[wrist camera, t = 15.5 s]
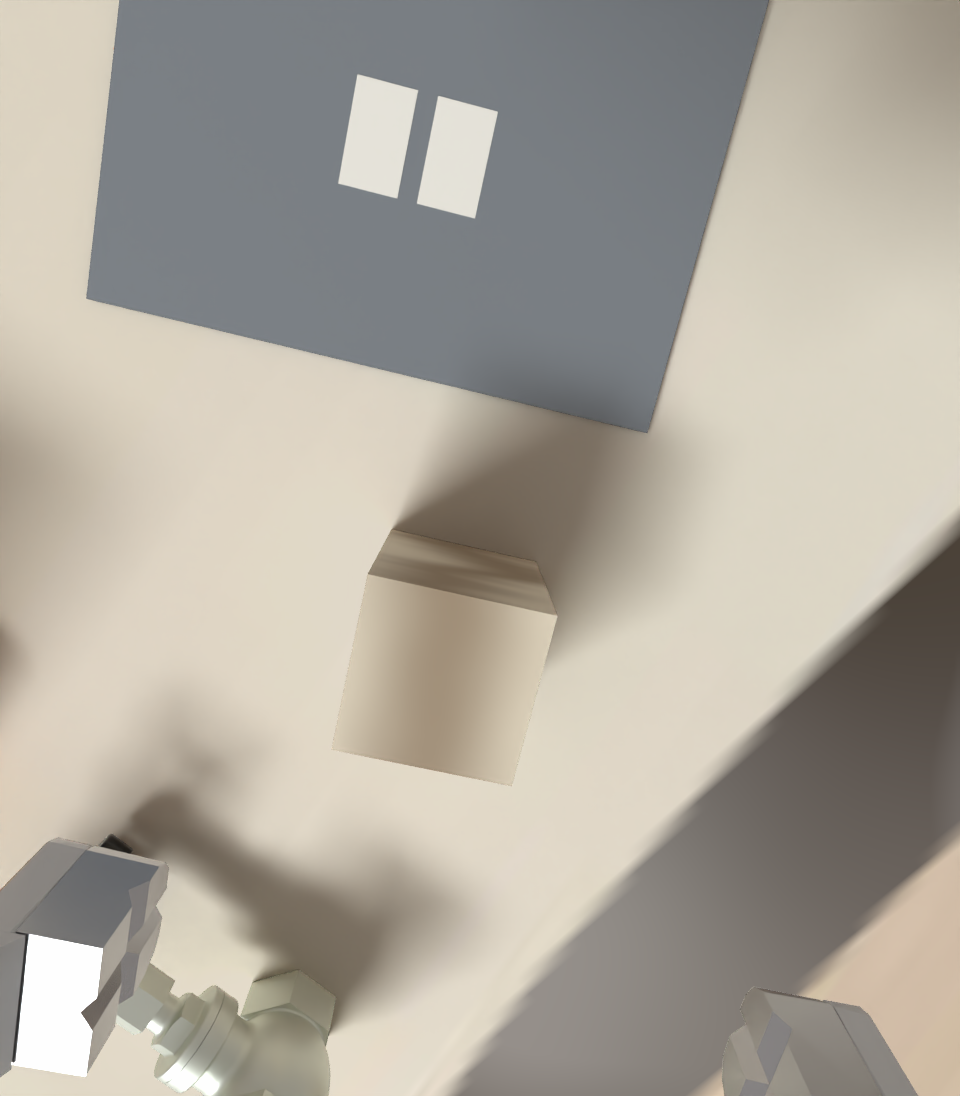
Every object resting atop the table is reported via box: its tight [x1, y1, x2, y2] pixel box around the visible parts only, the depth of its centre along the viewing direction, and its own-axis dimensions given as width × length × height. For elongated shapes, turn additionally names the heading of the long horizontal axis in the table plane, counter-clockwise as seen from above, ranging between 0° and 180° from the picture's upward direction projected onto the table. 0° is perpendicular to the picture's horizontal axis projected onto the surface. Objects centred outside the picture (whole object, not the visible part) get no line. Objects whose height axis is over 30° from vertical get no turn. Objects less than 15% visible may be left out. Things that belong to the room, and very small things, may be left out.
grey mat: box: [86, 0, 769, 433], centre depth 21 cm, size 18×13×1 cm
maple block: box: [331, 529, 558, 786], centre depth 22 cm, size 5×5×6 cm
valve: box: [99, 834, 336, 1096], centre depth 24 cm, size 7×7×12 cm
